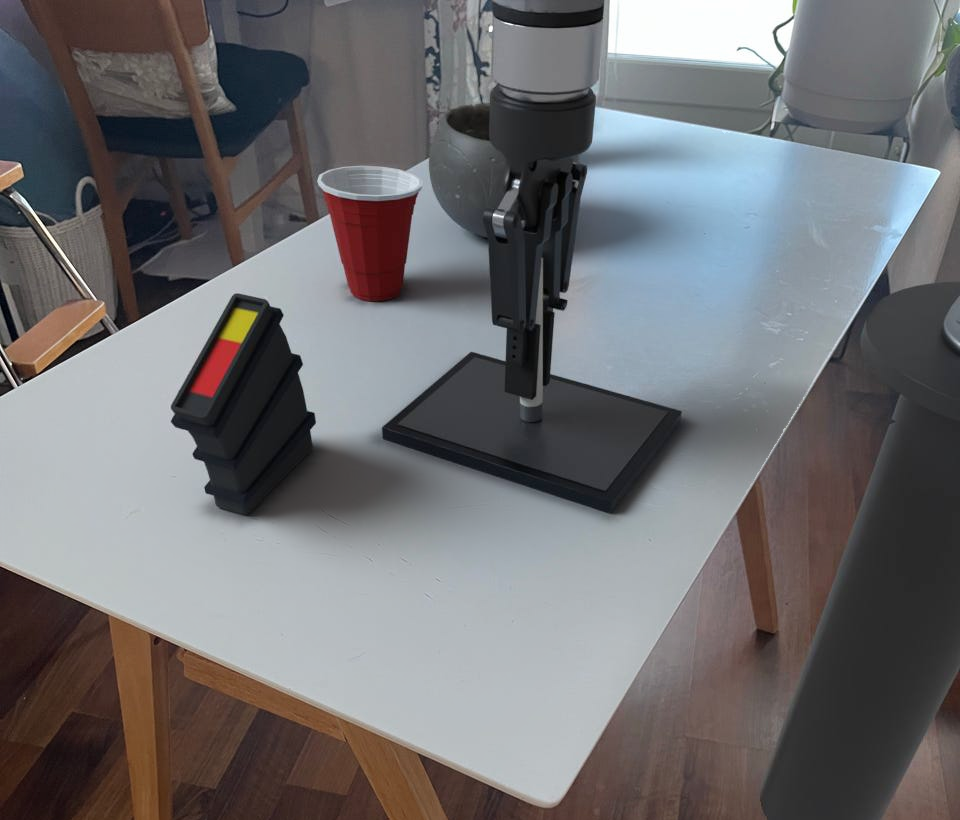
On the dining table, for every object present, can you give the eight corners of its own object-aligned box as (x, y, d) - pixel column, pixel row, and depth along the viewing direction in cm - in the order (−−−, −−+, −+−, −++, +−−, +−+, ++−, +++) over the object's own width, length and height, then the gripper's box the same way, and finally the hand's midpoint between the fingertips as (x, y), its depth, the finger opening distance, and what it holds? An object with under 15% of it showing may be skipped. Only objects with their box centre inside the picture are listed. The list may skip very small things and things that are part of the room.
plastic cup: (445, 284, 108) (443, 171, 100) (388, 320, 102) (381, 203, 93) (367, 261, 112) (360, 151, 104) (308, 295, 106) (294, 180, 97)
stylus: (546, 413, 86) (547, 256, 77) (536, 424, 85) (536, 265, 75) (526, 409, 87) (524, 252, 78) (516, 419, 86) (513, 261, 76)
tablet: (680, 422, 88) (682, 409, 87) (610, 513, 78) (612, 500, 77) (470, 362, 96) (470, 350, 95) (382, 438, 86) (381, 426, 85)
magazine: (334, 415, 85) (275, 297, 71) (271, 543, 81) (195, 444, 67) (297, 406, 86) (232, 288, 72) (233, 531, 82) (151, 432, 68)
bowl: (517, 193, 129) (521, 87, 120) (604, 238, 118) (615, 126, 109) (403, 221, 121) (398, 110, 112) (484, 272, 111) (486, 154, 102)
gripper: (542, 54, 74) (527, 341, 90) (443, 105, 64) (446, 415, 81) (633, 69, 71) (601, 361, 88) (544, 123, 62) (526, 439, 78)
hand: (527, 386), depth 84 cm, fingers closed on stylus, 2 cm apart
